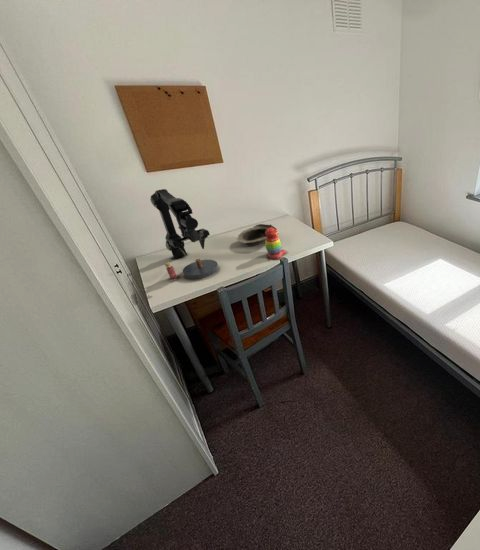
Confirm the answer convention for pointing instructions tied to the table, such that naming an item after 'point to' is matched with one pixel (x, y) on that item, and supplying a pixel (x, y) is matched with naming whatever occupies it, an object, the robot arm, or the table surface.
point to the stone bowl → (254, 235)
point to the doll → (171, 271)
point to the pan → (202, 275)
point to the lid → (200, 267)
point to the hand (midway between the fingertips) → (194, 251)
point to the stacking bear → (273, 244)
